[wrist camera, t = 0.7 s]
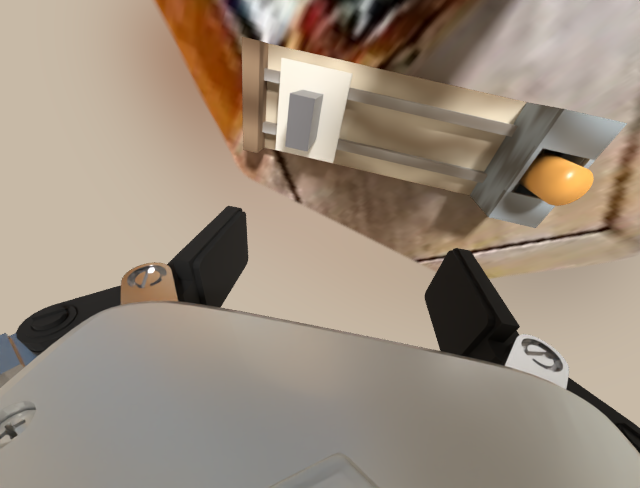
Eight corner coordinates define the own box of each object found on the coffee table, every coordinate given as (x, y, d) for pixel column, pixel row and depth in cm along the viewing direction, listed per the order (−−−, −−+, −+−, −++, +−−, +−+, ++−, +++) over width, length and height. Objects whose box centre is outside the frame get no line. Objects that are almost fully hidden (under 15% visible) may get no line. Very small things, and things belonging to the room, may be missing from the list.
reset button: (532, 149, 27) (563, 162, 22) (568, 157, 26) (604, 172, 22) (509, 182, 29) (532, 200, 25) (541, 190, 29) (570, 209, 25)
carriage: (287, 58, 28) (263, 54, 21) (352, 73, 28) (349, 73, 21) (280, 145, 34) (260, 163, 27) (334, 157, 34) (327, 179, 27)
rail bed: (256, 41, 29) (227, 32, 23) (568, 112, 29) (627, 123, 22) (255, 142, 37) (232, 157, 30) (505, 200, 36) (535, 228, 30)
